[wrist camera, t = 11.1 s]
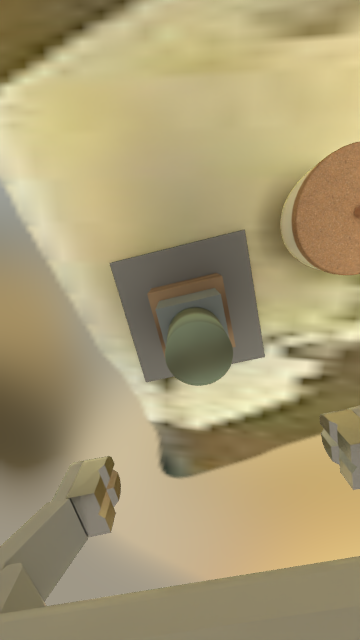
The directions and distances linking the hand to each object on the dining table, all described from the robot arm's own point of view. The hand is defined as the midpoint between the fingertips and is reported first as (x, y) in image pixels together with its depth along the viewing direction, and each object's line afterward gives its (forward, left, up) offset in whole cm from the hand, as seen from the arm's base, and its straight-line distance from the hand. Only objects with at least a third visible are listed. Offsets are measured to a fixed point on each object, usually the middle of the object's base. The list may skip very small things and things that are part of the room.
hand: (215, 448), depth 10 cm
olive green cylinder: (0, 0, -14) cm, 14 cm away
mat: (0, 0, -23) cm, 23 cm away
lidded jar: (-7, +16, -23) cm, 29 cm away
